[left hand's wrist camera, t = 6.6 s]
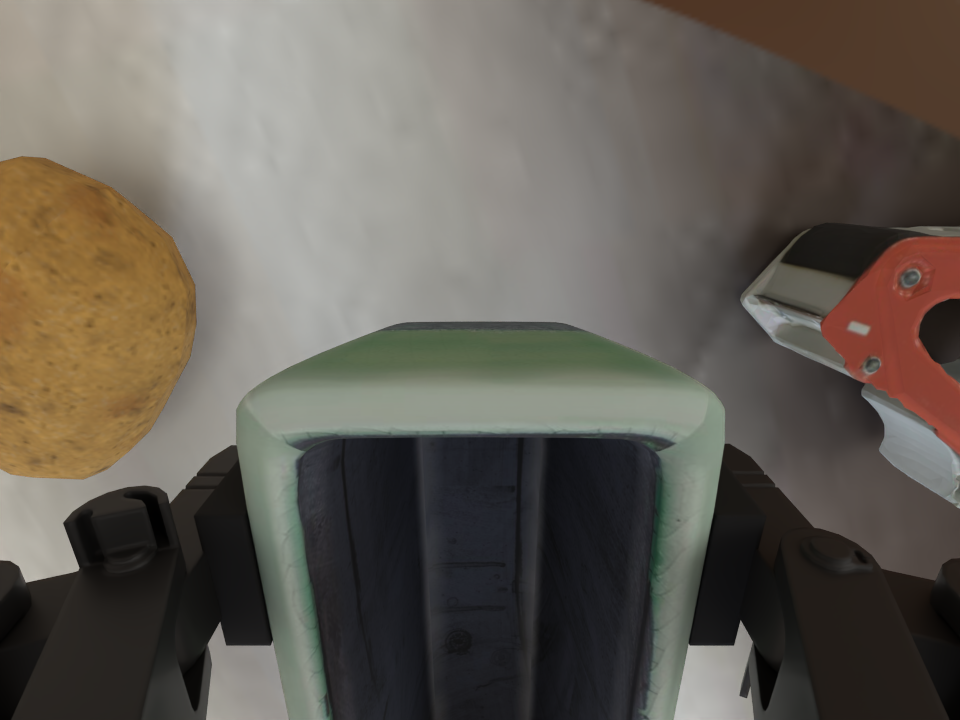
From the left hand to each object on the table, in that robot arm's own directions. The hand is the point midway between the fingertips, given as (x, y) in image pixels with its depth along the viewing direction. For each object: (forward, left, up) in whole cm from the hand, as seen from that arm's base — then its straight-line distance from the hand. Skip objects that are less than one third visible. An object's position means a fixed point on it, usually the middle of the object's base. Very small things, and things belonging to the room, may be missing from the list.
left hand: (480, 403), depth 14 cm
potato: (+16, +4, -10) cm, 19 cm away
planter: (-3, +10, -1) cm, 10 cm away
